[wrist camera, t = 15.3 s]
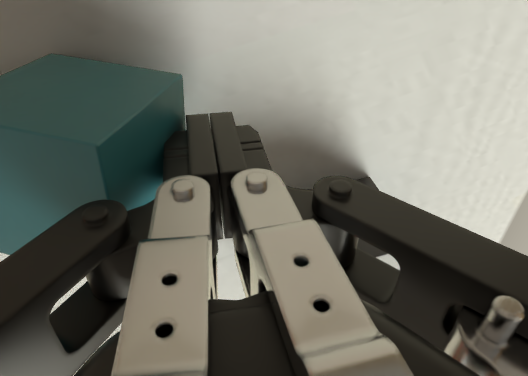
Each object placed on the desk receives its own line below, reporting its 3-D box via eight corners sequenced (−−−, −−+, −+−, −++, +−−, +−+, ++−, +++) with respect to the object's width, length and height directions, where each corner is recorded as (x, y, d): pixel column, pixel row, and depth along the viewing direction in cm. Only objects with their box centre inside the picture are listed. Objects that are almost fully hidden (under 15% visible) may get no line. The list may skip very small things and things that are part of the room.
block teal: (50, 52, 13) (-81, 110, 9) (183, 73, 12) (96, 145, 8) (80, 170, 15) (-13, 250, 12) (189, 192, 15) (126, 285, 11)
